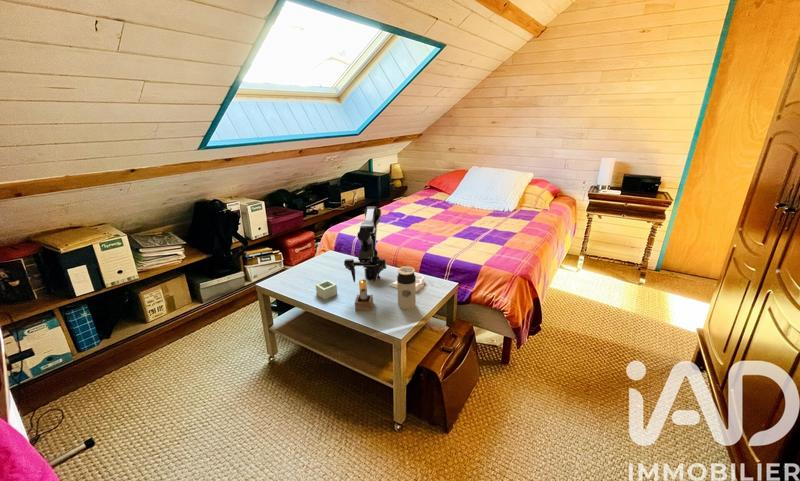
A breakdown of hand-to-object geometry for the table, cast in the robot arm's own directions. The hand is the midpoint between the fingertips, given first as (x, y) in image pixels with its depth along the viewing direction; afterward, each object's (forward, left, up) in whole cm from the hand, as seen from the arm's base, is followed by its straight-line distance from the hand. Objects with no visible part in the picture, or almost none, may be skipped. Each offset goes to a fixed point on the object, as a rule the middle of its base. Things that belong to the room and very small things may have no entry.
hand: (364, 282), depth 162 cm
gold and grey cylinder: (+2, +4, -10) cm, 11 cm away
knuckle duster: (-24, -6, -12) cm, 27 cm away
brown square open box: (+2, +4, -11) cm, 12 cm away
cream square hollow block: (+15, -14, -11) cm, 23 cm away
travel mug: (-16, +10, -11) cm, 22 cm away
